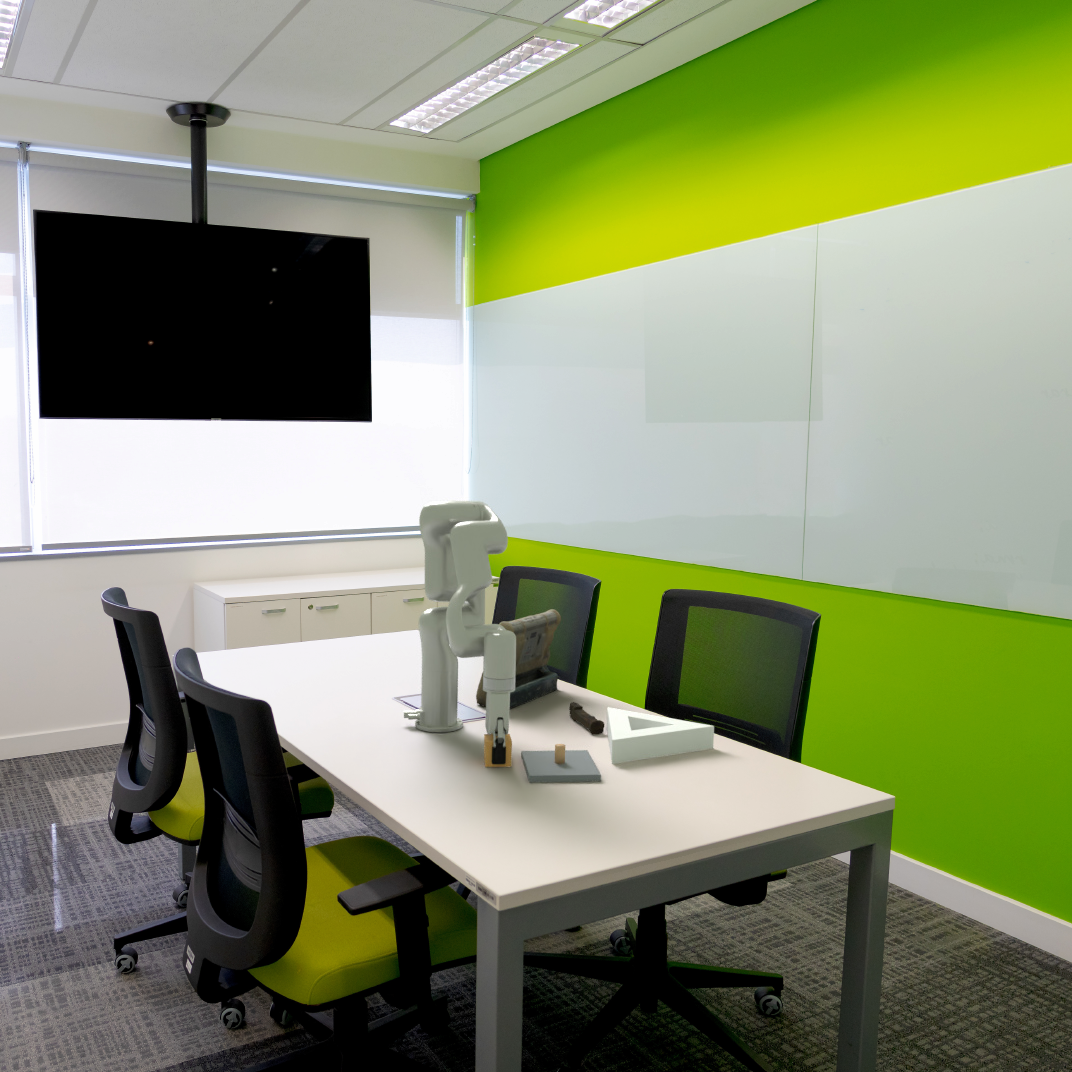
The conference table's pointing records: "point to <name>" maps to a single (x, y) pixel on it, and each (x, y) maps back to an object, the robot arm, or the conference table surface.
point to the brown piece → (586, 719)
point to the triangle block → (653, 736)
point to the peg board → (560, 765)
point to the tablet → (530, 658)
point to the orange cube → (488, 751)
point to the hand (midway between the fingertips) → (497, 758)
